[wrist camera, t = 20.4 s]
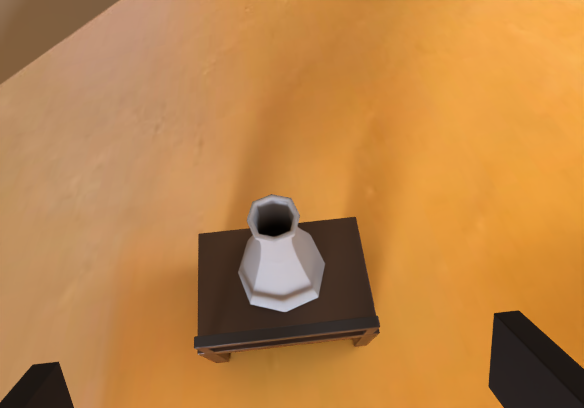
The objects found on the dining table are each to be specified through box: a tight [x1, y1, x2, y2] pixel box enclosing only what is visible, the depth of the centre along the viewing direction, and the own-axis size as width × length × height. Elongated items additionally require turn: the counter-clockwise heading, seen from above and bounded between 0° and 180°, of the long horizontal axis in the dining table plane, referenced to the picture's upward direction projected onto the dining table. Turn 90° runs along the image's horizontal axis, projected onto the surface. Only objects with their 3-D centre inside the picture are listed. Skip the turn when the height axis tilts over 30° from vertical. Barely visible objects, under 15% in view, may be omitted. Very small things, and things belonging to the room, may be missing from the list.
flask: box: [238, 194, 325, 312], centre depth 27 cm, size 7×7×10 cm
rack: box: [194, 217, 380, 363], centre depth 33 cm, size 14×10×10 cm
